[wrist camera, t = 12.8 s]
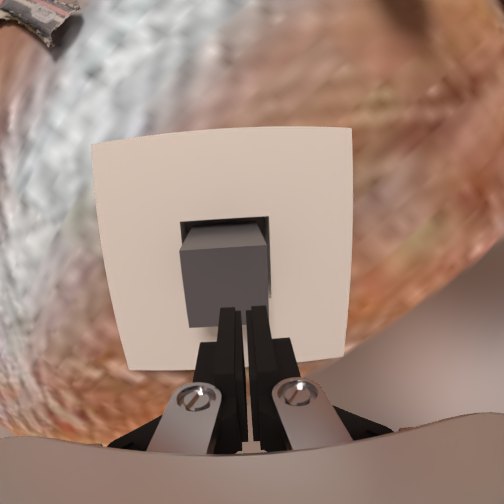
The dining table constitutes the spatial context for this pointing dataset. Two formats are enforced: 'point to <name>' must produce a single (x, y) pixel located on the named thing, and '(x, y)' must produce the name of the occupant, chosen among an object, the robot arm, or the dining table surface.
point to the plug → (223, 271)
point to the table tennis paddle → (37, 15)
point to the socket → (225, 211)
